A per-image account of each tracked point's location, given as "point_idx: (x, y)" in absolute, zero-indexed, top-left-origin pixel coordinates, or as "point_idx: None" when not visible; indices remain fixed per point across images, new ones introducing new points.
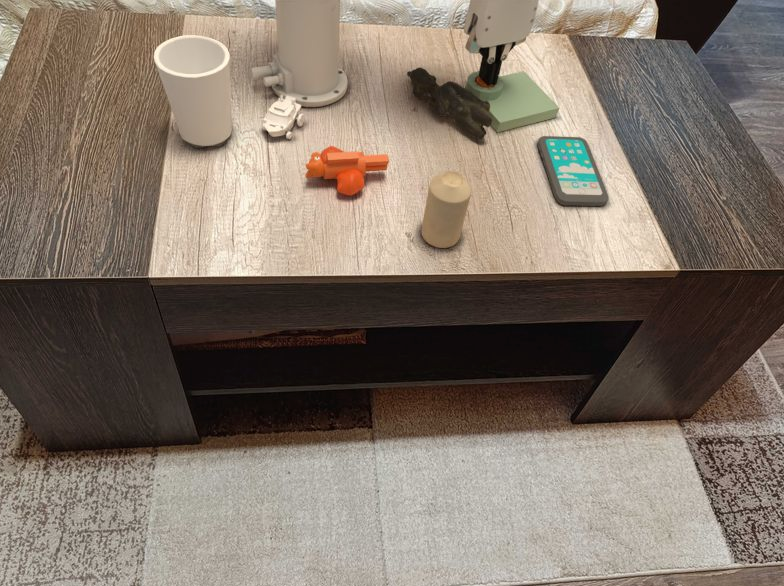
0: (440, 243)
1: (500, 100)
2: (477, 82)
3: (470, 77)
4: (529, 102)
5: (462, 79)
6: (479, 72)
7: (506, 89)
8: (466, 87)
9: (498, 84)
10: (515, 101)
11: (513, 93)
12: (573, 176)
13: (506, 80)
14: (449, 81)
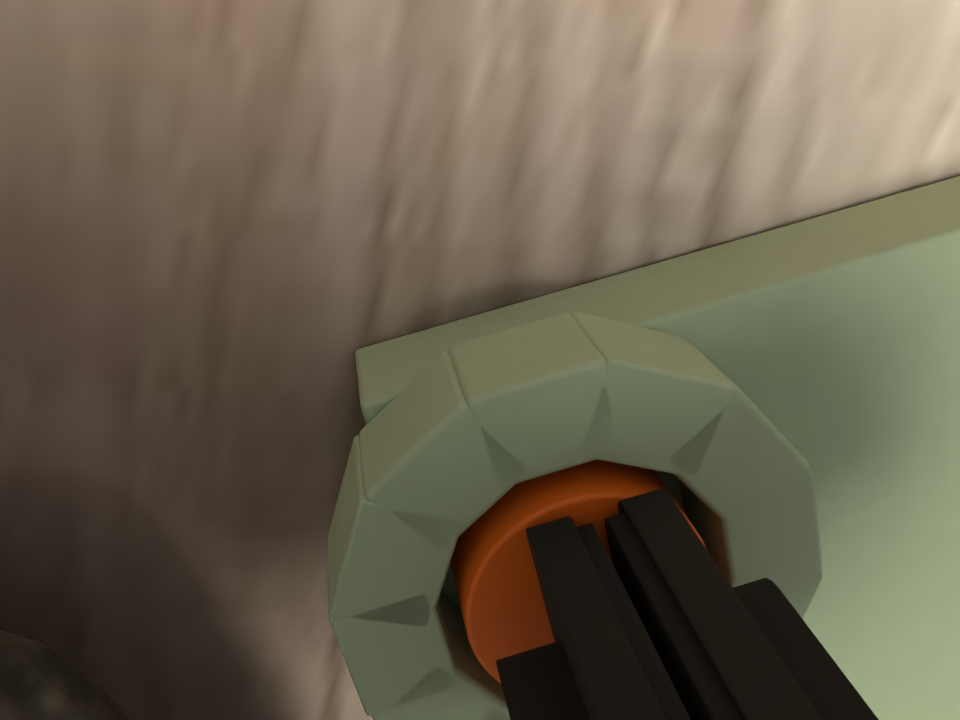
0: None
1: None
2: (465, 623)
3: (394, 523)
4: (958, 696)
5: (416, 40)
6: (502, 684)
7: (834, 510)
8: (333, 526)
9: None
10: None
11: (876, 571)
12: None
13: (922, 342)
14: (3, 700)
